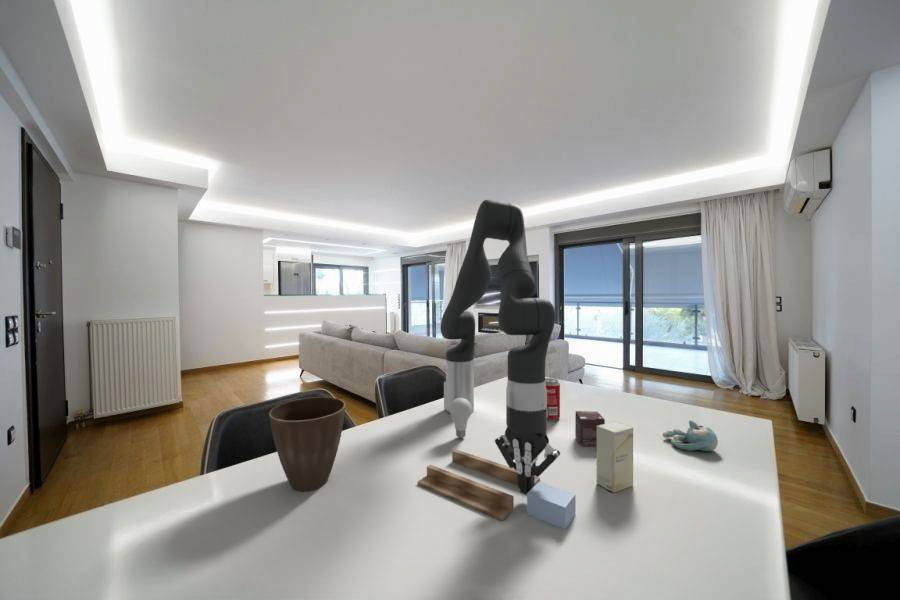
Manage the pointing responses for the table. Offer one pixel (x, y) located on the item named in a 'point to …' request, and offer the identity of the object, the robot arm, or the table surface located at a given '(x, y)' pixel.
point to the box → (587, 427)
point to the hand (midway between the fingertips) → (526, 492)
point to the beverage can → (553, 398)
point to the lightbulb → (460, 415)
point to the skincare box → (615, 456)
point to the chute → (474, 485)
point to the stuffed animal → (694, 438)
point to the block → (551, 504)
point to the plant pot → (307, 439)
